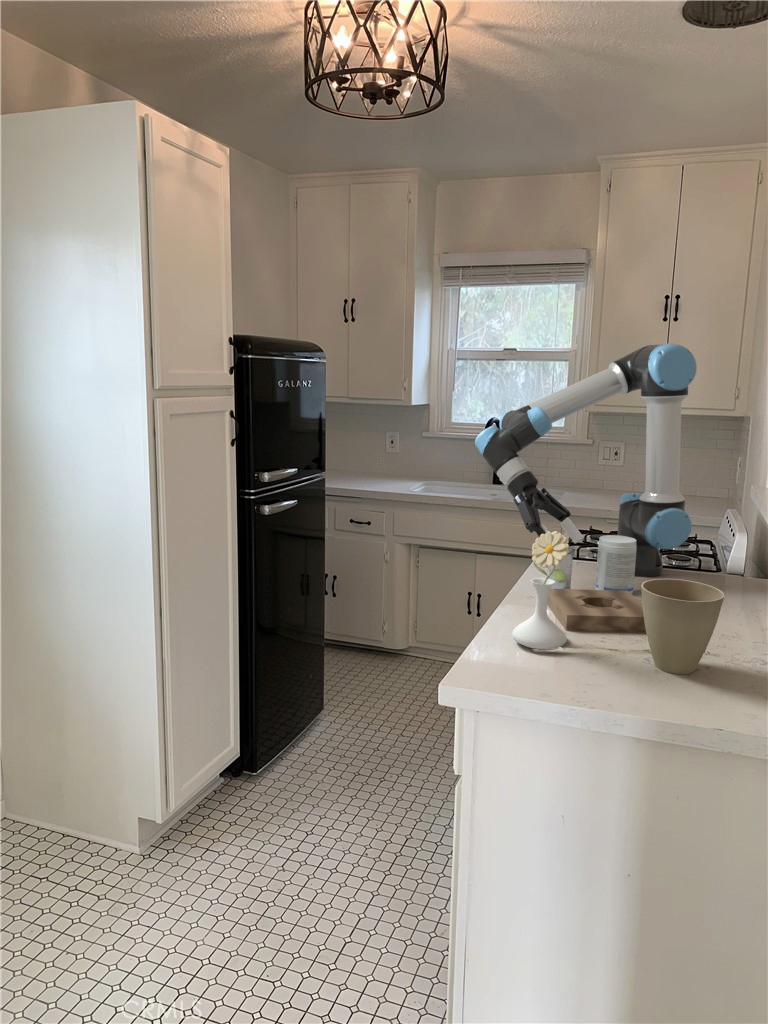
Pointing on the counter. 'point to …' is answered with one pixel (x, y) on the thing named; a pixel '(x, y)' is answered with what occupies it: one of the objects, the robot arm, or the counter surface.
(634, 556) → the supplement tub
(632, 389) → the robot arm
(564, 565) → the silver capped jar
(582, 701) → the counter surface
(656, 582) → the plant pot
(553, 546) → the flower in vase
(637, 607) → the walnut socket block
